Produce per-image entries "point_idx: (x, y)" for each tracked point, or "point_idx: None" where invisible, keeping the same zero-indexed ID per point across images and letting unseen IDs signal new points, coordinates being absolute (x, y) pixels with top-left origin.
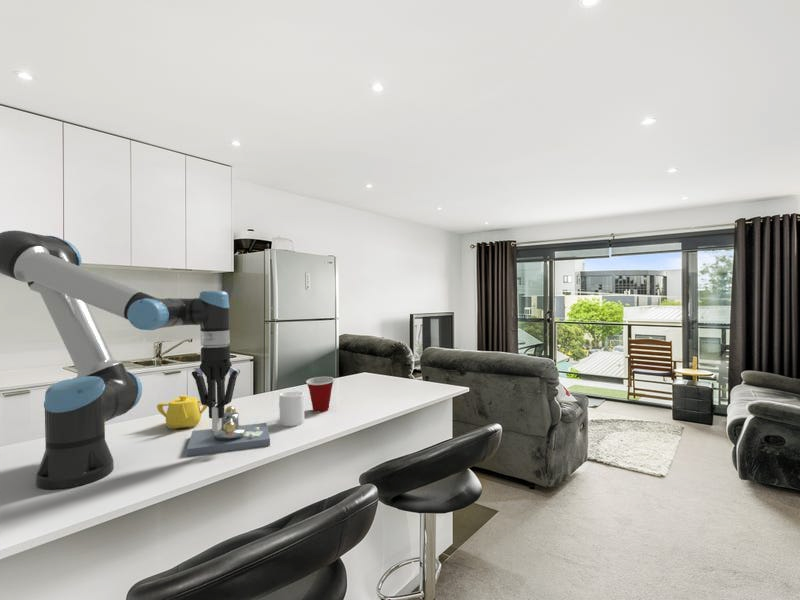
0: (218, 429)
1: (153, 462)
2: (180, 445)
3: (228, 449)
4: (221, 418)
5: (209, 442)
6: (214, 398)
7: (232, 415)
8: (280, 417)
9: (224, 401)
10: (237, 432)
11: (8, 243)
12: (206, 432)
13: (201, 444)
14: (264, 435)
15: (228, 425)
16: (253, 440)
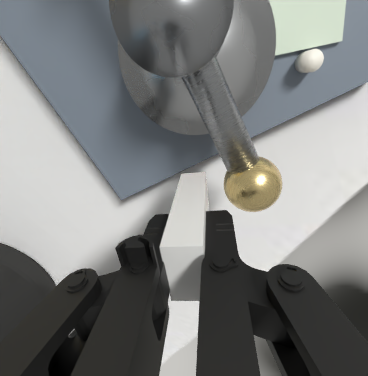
0: (208, 204)
1: (79, 227)
2: (35, 106)
3: None
4: (204, 192)
5: (152, 139)
6: (151, 330)
7: (204, 36)
8: None
9: (275, 346)
10: (252, 97)
11: None
12: (49, 8)
13: (138, 160)
14: (366, 11)
15: (258, 210)
16: (322, 97)
